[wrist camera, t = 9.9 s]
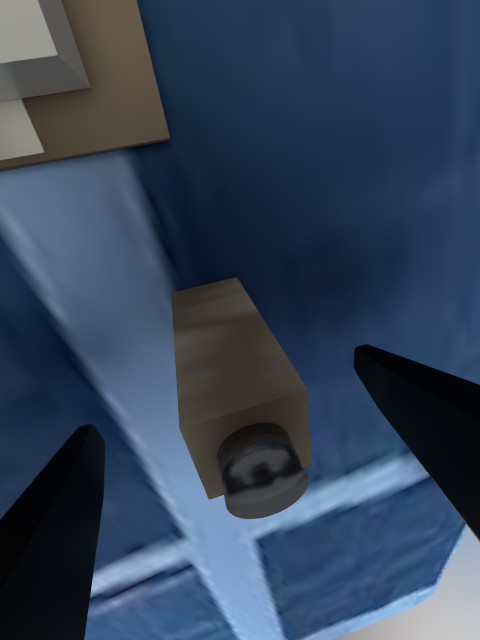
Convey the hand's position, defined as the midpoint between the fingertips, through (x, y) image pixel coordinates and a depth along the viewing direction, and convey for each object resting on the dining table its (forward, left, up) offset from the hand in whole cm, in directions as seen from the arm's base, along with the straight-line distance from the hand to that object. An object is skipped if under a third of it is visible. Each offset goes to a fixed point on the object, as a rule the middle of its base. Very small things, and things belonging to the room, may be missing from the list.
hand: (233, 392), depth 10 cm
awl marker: (0, 0, -6) cm, 6 cm away
